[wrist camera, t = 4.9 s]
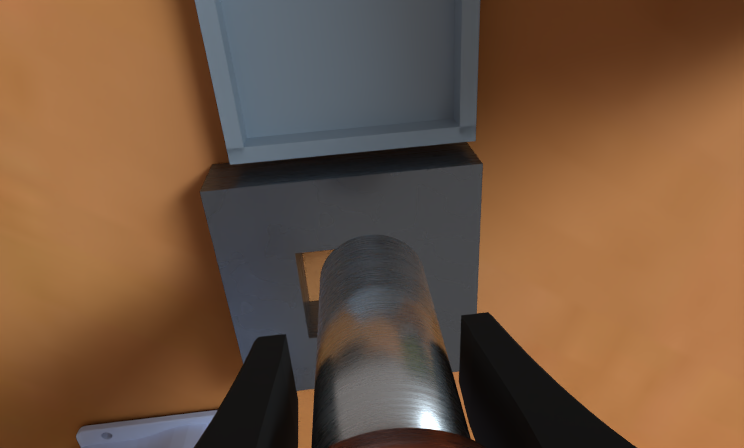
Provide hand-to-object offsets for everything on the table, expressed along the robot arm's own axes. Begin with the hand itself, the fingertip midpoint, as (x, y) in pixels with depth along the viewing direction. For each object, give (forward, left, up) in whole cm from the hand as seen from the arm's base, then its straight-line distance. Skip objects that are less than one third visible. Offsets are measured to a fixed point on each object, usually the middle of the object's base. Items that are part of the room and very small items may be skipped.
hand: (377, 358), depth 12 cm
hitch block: (0, -4, -11) cm, 11 cm away
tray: (0, +5, -11) cm, 12 cm away
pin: (0, 0, -4) cm, 4 cm away
